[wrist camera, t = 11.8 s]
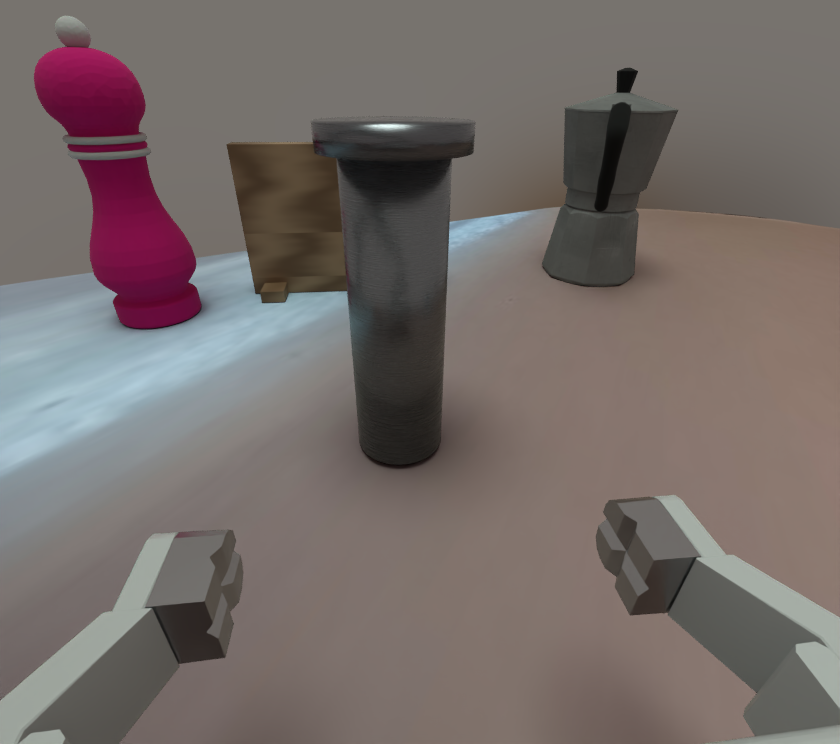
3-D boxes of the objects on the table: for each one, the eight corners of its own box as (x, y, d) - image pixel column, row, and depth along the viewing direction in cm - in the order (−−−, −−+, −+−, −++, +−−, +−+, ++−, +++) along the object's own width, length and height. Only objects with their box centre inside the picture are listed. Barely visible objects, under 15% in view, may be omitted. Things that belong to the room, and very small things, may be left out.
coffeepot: (548, 249, 55) (576, 70, 45) (631, 258, 52) (680, 70, 43) (528, 295, 43) (561, 63, 33) (637, 310, 40) (706, 62, 30)
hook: (341, 480, 22) (301, 125, 14) (351, 309, 39) (335, 105, 31) (465, 471, 22) (493, 126, 15) (421, 307, 39) (423, 106, 31)
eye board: (250, 303, 41) (219, 147, 34) (263, 279, 46) (237, 139, 39) (434, 296, 42) (438, 146, 36) (426, 274, 47) (428, 139, 41)
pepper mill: (187, 290, 43) (114, 25, 32) (222, 313, 39) (150, 16, 28) (101, 313, 39) (-16, 15, 28) (130, 341, 34) (4, 2, 24)
